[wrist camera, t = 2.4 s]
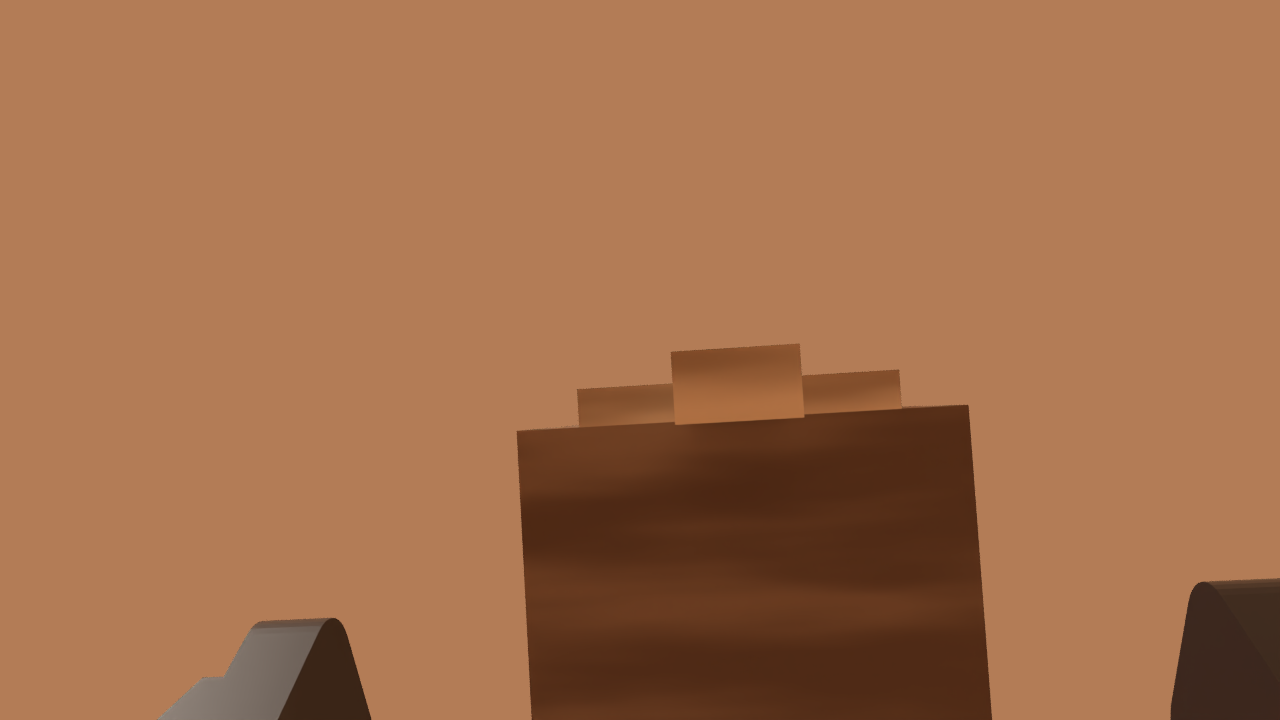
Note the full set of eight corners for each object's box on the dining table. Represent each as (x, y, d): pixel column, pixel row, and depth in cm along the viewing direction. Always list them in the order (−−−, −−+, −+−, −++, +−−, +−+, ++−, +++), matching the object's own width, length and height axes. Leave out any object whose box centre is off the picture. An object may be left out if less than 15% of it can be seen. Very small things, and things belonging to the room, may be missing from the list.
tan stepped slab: (974, 407, 23) (969, 332, 23) (512, 434, 23) (508, 361, 24) (854, 409, 45) (852, 372, 46) (622, 422, 46) (620, 386, 46)
